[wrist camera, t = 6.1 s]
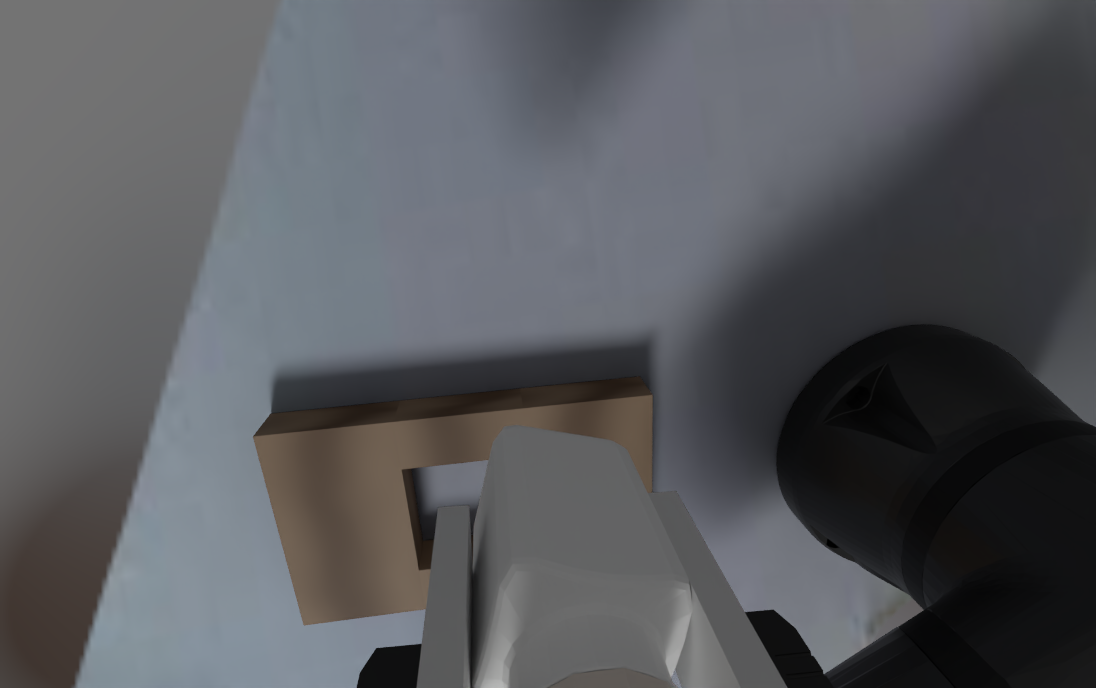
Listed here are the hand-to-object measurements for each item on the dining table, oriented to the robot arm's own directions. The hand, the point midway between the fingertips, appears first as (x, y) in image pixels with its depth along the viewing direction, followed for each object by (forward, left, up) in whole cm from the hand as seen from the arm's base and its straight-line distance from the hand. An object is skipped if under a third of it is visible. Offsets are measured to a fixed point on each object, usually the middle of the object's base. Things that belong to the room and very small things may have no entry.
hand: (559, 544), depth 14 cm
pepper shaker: (0, 0, -3) cm, 3 cm away
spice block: (+3, +9, -17) cm, 19 cm away
